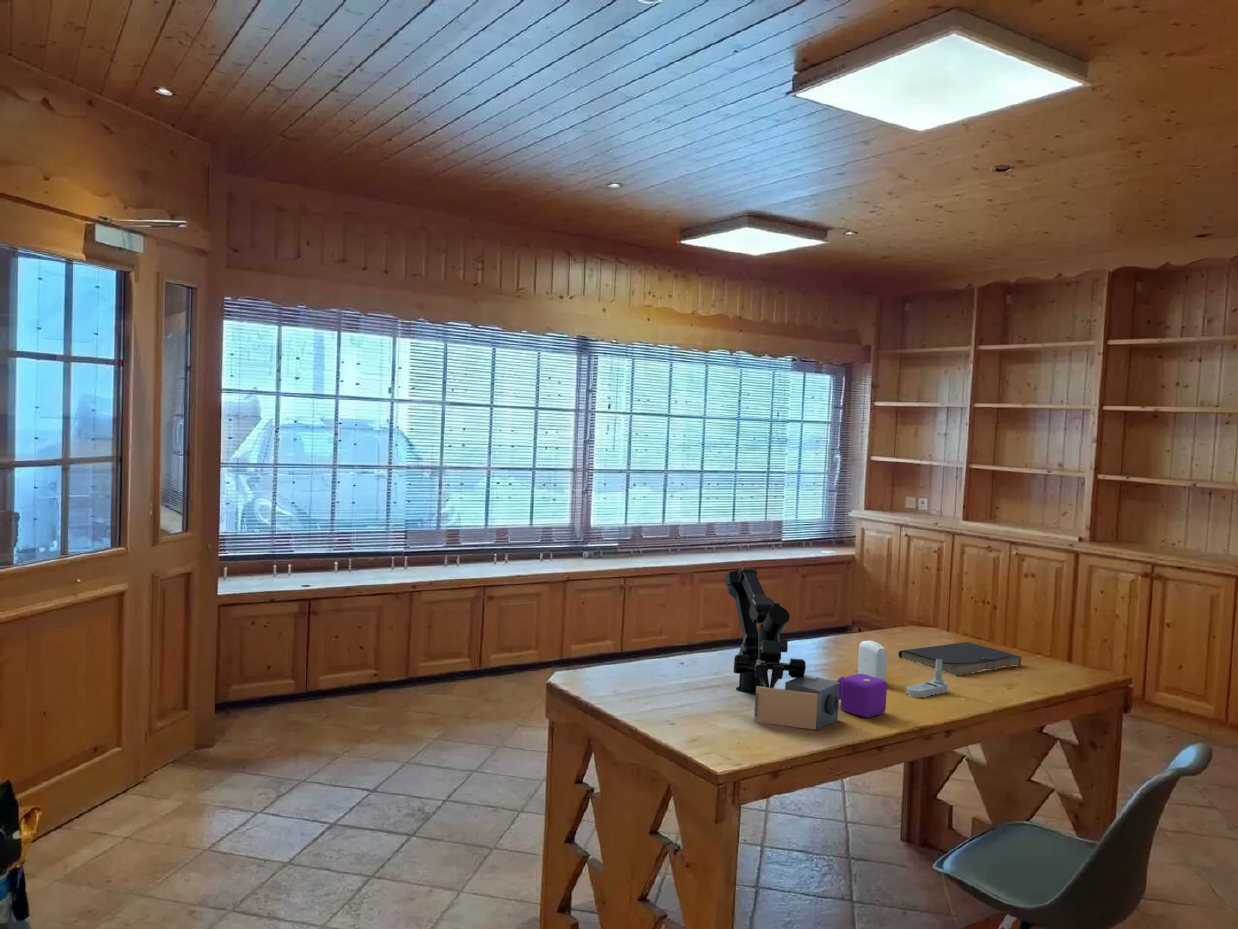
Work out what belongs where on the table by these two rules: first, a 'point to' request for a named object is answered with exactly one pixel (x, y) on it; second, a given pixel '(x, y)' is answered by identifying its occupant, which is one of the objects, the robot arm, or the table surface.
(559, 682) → the table surface
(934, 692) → the electronic device
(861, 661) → the photo printer
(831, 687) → the camera case
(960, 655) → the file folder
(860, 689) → the toy camera
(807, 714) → the side door
